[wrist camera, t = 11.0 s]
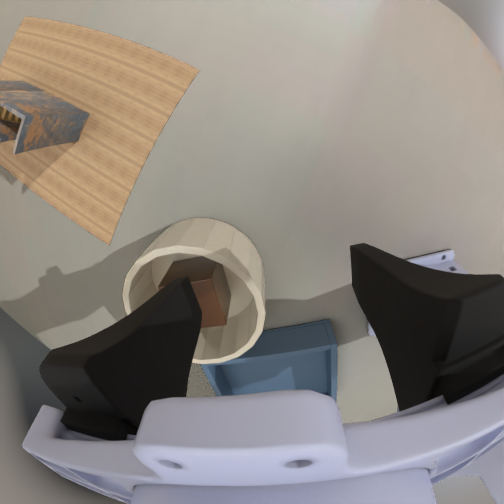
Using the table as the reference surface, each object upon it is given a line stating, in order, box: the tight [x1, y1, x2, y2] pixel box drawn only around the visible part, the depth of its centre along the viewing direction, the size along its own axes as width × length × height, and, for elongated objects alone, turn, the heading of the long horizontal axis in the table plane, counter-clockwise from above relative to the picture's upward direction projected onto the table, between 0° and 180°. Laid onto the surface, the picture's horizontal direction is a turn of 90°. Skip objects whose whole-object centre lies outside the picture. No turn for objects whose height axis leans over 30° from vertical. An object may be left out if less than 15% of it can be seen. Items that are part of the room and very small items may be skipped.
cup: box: [122, 218, 266, 364], centre depth 20 cm, size 10×10×6 cm
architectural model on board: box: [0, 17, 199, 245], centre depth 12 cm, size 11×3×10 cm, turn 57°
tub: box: [200, 319, 337, 402], centre depth 26 cm, size 12×12×3 cm
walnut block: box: [158, 256, 231, 328], centre depth 20 cm, size 4×4×4 cm
